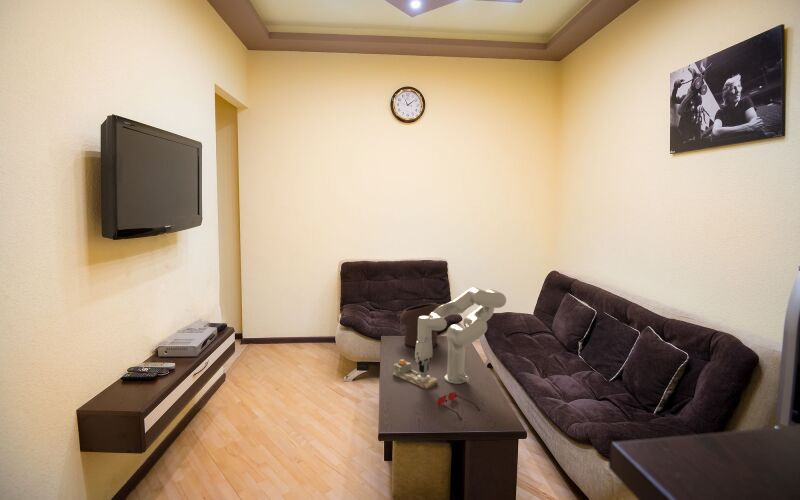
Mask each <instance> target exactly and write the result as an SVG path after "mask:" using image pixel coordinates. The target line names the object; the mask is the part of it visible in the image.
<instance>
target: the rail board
mask: <svg viewBox="0 0 800 500" xmlns="http://www.w3.org/2000/svg"><path fill="white" fill-rule="evenodd" d="M392 365H393V366H392V371H393V372H392V374H393V376H396V377H399V378H401V379H403V380H405V381H408V382H409V383H412V384H413V385H414V384H415V385H417V386H419V387H421V388H423V389H426V390H427V389H429V388H431V387H434V386H437V385H438V378H436V377H434V376H433V377H430V379H428V380H425V381H421V380H419V379H417V376H418V375H420V372H418V371H416V370H414V369H412V362H409V361H406V364H405V365H404V366H401V365H399V362H396V363H394V364H392Z"/></svg>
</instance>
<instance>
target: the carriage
mask: <svg viewBox="0 0 800 500" xmlns="http://www.w3.org/2000/svg"><path fill="white" fill-rule="evenodd" d="M421 362H422V361H421ZM428 364H429V363H428V360H426V359H425V360H424V372H420V371H419V373H420V375H418V376H417V379H419V380H421V381H425V380H428V379H430V378H431V375H430V374H428V371H427V365H428Z"/></svg>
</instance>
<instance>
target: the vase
mask: <svg viewBox="0 0 800 500" xmlns="http://www.w3.org/2000/svg"><path fill="white" fill-rule="evenodd" d="M438 307H439V306H438V304H437V303H436V302H430V303H423V304H418V305H413V306H410V307H408V308H405V309H404V310H403V312H402V313H401V315H400V317H399V321H400V323H401V324H402V325H404V326H405V334H404V343H405V344H406V345H407V346H408V347H412V348H416V343H417V341H418V318H419V317H420V316H429V314H430V313H431V312H433V311H434V310H435V309H437V308H438ZM431 336H432V337H431V340H432V347H435V345H437V342H438V333H437V330H431Z"/></svg>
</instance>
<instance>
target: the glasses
mask: <svg viewBox="0 0 800 500" xmlns="http://www.w3.org/2000/svg"><path fill="white" fill-rule="evenodd" d="M457 397H458V398H460V399H461V400H463V401H466V402H468V403H470V404H471V405H474V406H475V408H476V409H477V410H478V411H479V412H481V410H480V408H479V406H477V404H475V403H473V402H471V401H469V400H468V399H466V398H464V397H461V396H459V395H457V392H456V391H453V392H449V393H448V394H445V395H443V396H442V397H439V398H438V400H437V401H436V404H437V406H438V408H439V407H441V406H443V407H444V408H446V409H448V410H450V411H451V412H454V413H455V414H456V415H457V416H458V418H459V420H460V421H463V419H462V418H461V416H460V415H459V413H458V412H456V411H455V410H454V409H451V408H449V407H447V406H445V405H444V403H447V402H448V400H449V401H451V402H453V401H454V400H455V399H456V398H457ZM447 398H448V399H447Z"/></svg>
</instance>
